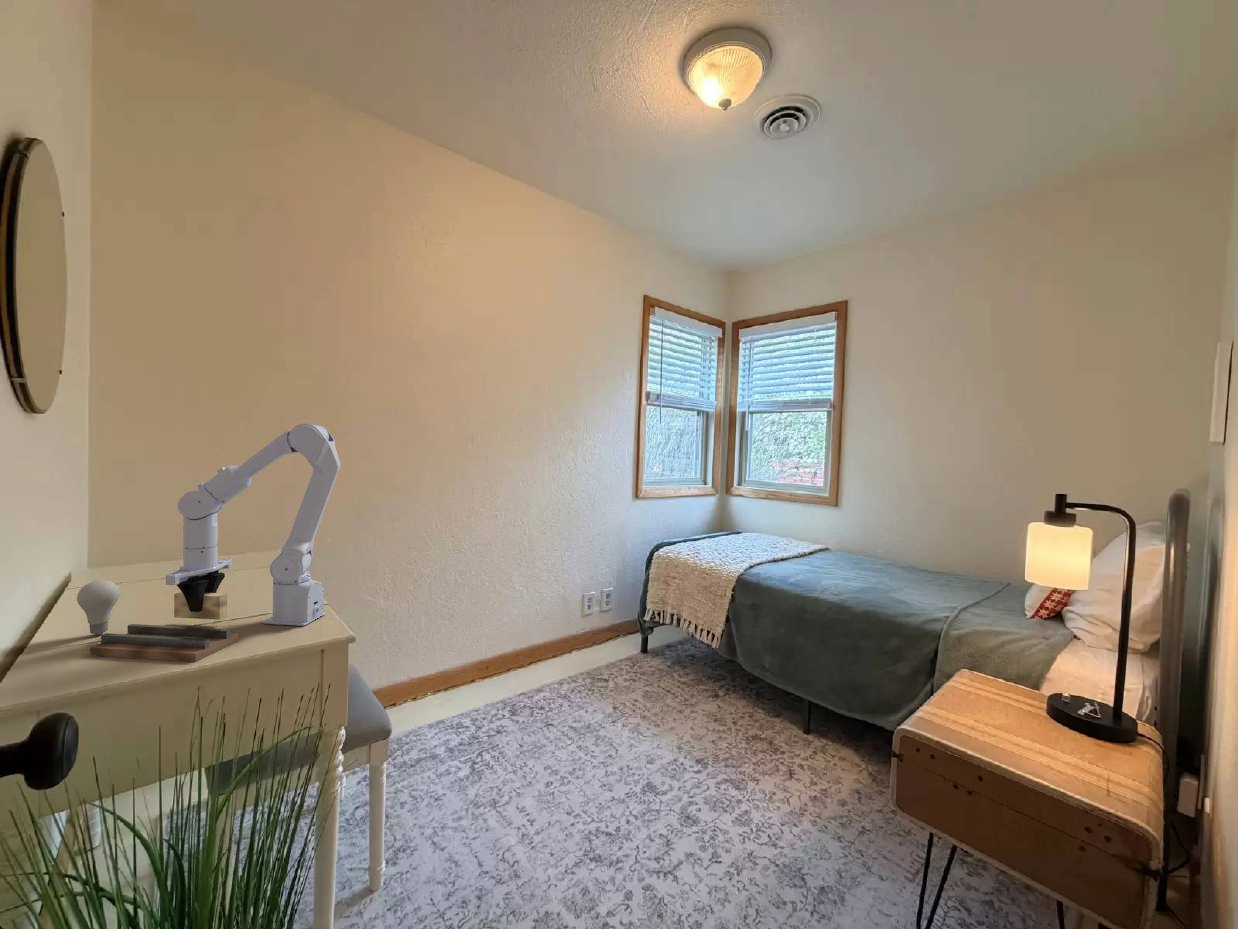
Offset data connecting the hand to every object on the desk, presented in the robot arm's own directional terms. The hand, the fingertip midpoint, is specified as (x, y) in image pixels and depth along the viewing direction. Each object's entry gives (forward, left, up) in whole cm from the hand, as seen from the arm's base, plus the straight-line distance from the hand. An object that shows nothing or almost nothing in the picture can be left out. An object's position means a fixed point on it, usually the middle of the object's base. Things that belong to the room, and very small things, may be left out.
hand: (200, 609), depth 111 cm
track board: (-4, +12, -3) cm, 13 cm away
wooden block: (0, 0, -2) cm, 2 cm away
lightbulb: (+14, +8, -4) cm, 17 cm away
